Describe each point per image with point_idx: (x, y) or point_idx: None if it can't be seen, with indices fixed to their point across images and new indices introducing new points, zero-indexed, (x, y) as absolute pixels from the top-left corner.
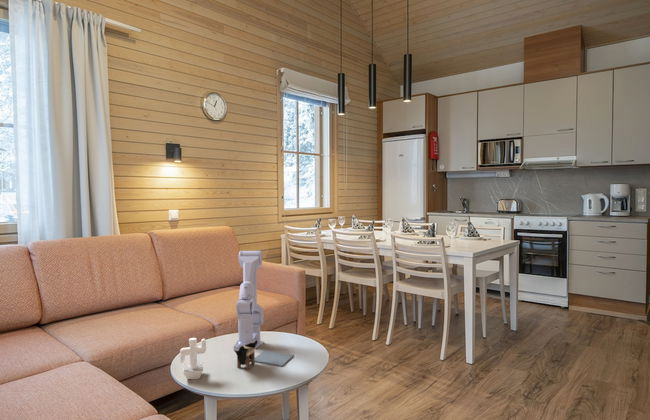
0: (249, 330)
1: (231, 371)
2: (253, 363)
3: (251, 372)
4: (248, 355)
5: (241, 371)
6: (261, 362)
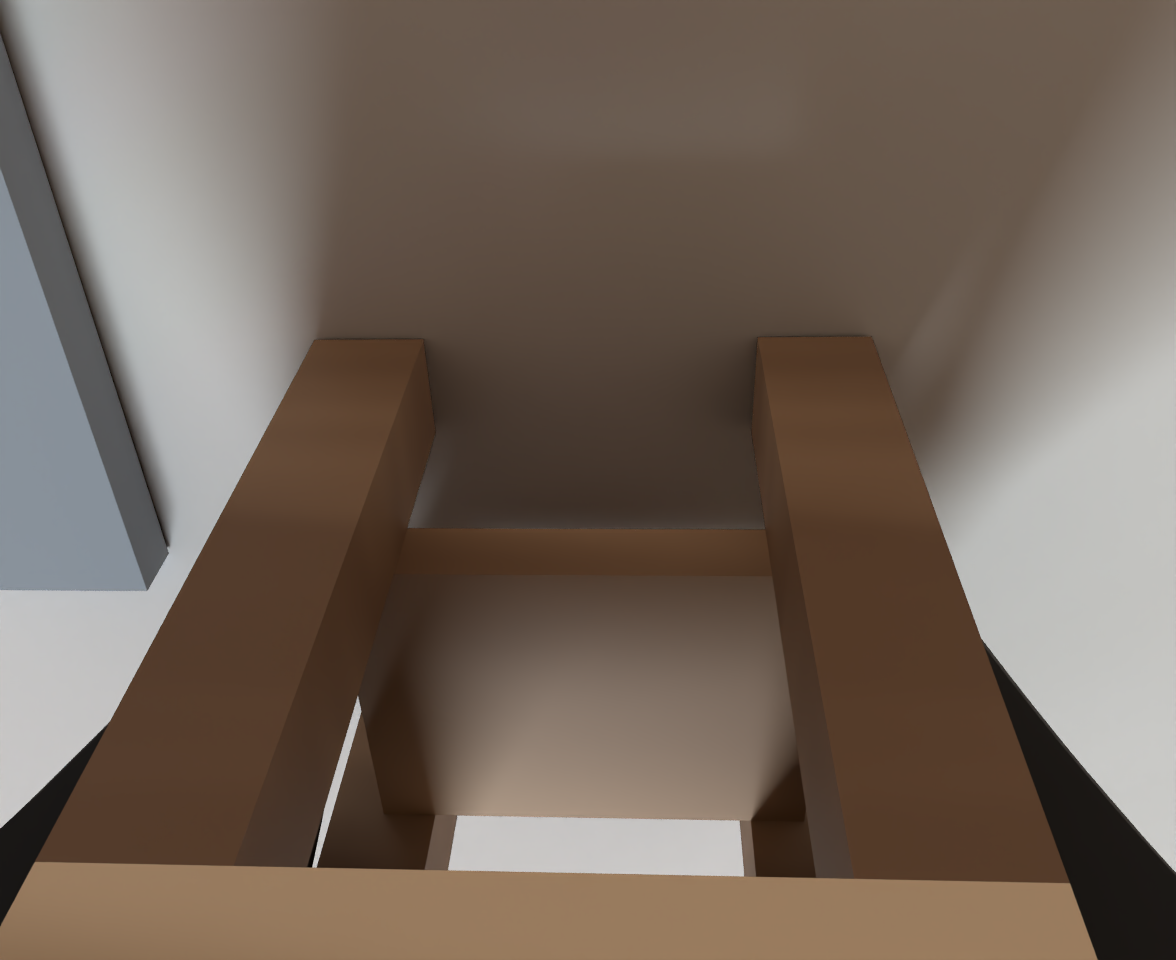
0: None
1: (1135, 748)
2: (394, 384)
3: (1122, 39)
4: (1008, 911)
5: (1084, 488)
6: (8, 130)
